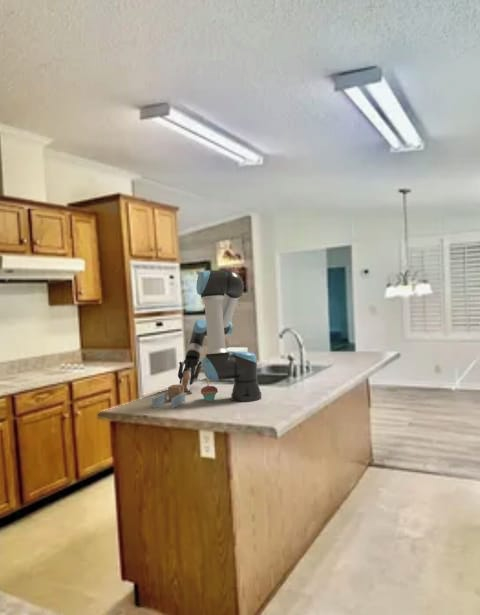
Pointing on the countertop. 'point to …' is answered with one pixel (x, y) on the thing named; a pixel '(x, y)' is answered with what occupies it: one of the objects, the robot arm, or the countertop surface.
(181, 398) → the lane
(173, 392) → the tethered block
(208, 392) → the cupcake
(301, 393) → the countertop surface
